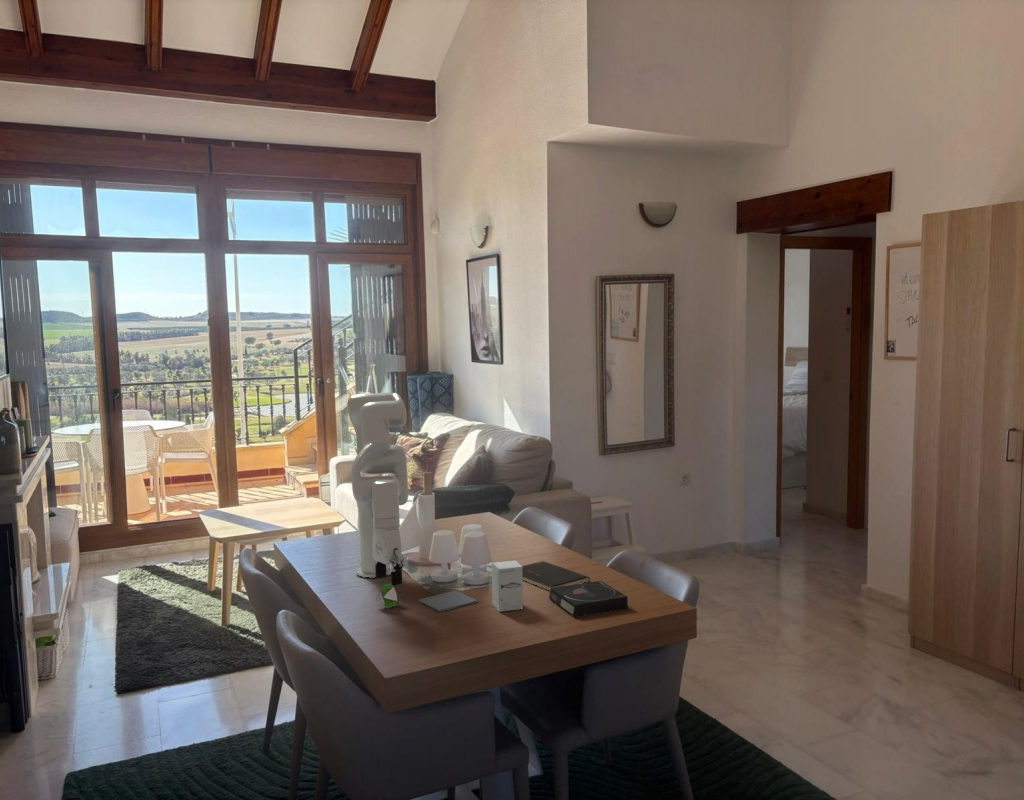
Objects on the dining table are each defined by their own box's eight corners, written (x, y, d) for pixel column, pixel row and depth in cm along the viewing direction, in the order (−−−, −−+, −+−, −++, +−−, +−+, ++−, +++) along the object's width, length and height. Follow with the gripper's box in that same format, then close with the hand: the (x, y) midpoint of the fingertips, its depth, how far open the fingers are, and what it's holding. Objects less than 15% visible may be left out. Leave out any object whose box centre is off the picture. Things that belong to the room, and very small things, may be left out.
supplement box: (498, 612, 225) (497, 568, 224) (492, 604, 232) (491, 561, 231) (523, 609, 227) (522, 566, 226) (516, 601, 234) (515, 559, 233)
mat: (418, 601, 236) (418, 599, 236) (455, 592, 244) (455, 590, 243) (439, 612, 226) (439, 610, 226) (477, 602, 234) (477, 600, 234)
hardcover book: (550, 593, 242) (550, 586, 242) (506, 576, 260) (506, 569, 260) (590, 583, 251) (590, 576, 251) (544, 567, 270) (544, 560, 270)
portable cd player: (549, 601, 235) (548, 588, 234) (600, 593, 241) (600, 580, 240) (572, 619, 219) (572, 605, 219) (627, 610, 225) (627, 596, 225)
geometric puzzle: (369, 598, 234) (377, 580, 230) (388, 592, 238) (397, 574, 234) (381, 616, 230) (390, 598, 226) (400, 610, 235) (409, 593, 231)
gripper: (361, 520, 235) (363, 577, 236) (388, 529, 221) (391, 590, 222) (384, 516, 239) (386, 572, 240) (412, 525, 226) (415, 584, 226)
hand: (388, 581), depth 231 cm, fingers open, 9 cm apart
